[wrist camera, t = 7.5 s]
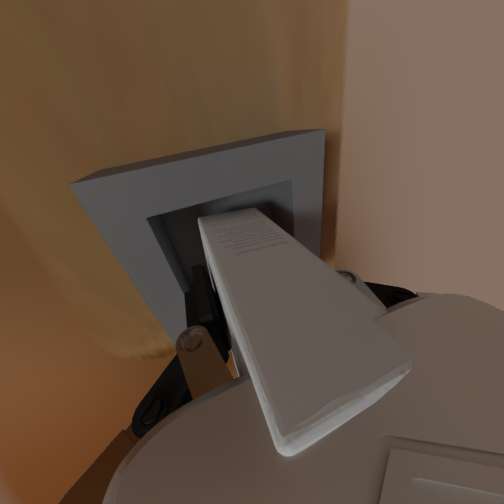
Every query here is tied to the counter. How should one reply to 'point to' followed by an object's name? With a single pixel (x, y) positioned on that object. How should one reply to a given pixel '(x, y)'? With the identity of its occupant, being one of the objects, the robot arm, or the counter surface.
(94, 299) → the counter surface
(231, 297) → the skincare box
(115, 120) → the counter surface
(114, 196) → the port block
